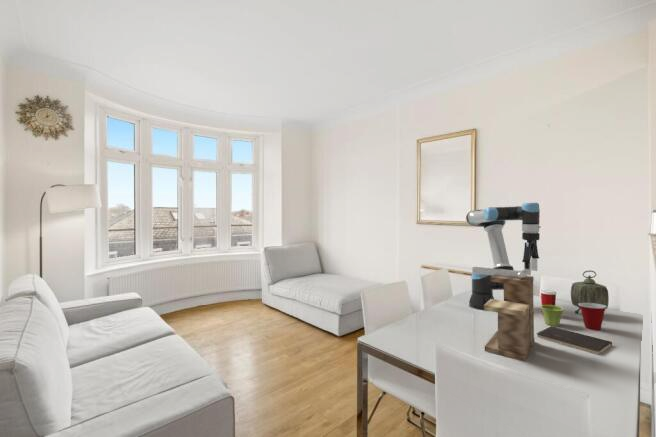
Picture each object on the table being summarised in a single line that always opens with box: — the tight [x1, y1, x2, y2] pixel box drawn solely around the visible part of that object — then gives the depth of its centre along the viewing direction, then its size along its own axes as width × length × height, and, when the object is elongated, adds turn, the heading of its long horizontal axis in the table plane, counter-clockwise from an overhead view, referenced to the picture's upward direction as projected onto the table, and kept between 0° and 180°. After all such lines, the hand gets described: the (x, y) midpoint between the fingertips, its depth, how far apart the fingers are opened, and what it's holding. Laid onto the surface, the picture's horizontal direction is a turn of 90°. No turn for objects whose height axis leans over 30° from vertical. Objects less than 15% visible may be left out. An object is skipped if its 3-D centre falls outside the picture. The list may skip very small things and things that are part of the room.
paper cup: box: [539, 288, 557, 316], centre depth 174 cm, size 8×8×14 cm
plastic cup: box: [578, 303, 607, 331], centre depth 154 cm, size 11×11×12 cm
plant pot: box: [540, 304, 564, 327], centre depth 161 cm, size 9×9×9 cm
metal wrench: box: [471, 266, 528, 280], centre depth 144 cm, size 22×8×3 cm, turn 49°
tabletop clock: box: [570, 270, 610, 314], centre depth 172 cm, size 14×9×25 cm, turn 84°
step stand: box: [483, 275, 535, 362], centre depth 136 cm, size 15×23×30 cm, turn 139°
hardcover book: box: [535, 325, 613, 356], centre depth 140 cm, size 16×23×2 cm
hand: (531, 272), depth 161 cm, fingers open, 13 cm apart
